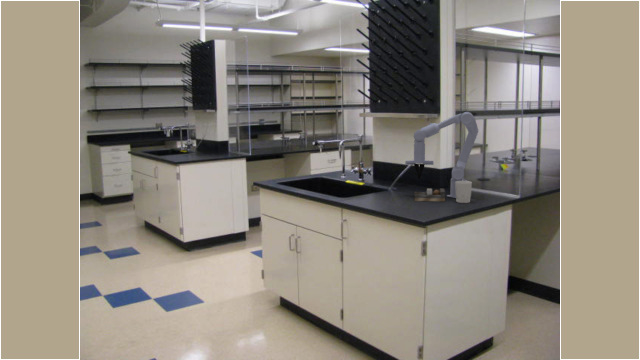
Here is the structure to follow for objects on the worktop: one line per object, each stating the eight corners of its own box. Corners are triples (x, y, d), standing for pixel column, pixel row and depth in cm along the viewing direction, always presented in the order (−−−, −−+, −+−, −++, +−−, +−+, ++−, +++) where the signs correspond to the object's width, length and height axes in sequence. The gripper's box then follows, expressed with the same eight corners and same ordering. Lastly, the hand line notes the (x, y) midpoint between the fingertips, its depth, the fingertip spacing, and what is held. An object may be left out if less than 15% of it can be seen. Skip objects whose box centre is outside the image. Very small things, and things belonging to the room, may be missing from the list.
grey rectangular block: (427, 196, 258) (427, 190, 258) (426, 194, 264) (427, 188, 264) (432, 196, 258) (432, 190, 257) (431, 194, 264) (431, 188, 263)
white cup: (473, 201, 255) (473, 181, 254) (469, 203, 248) (469, 183, 247) (457, 199, 259) (457, 180, 258) (453, 202, 252) (453, 182, 251)
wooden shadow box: (414, 201, 258) (414, 191, 257) (414, 197, 267) (414, 188, 266) (445, 201, 255) (445, 191, 255) (444, 198, 264) (444, 188, 263)
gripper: (405, 153, 266) (405, 179, 268) (433, 153, 263) (433, 179, 265) (405, 152, 273) (405, 177, 275) (433, 152, 270) (433, 177, 272)
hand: (419, 178), depth 270 cm, fingers closed
